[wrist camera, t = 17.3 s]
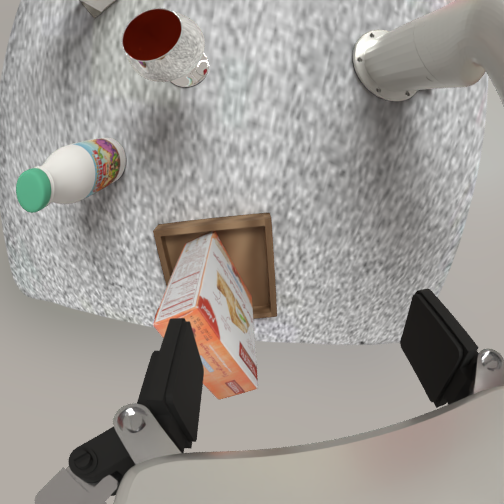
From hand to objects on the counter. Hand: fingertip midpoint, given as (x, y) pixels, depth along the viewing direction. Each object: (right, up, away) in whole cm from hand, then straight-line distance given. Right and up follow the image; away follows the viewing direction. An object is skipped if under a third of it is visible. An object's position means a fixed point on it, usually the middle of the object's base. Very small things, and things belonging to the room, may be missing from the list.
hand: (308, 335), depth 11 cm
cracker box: (-8, 0, +37) cm, 38 cm away
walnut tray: (-8, 0, +37) cm, 38 cm away
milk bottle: (-25, +18, +29) cm, 42 cm away
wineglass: (-12, +30, +23) cm, 40 cm away
